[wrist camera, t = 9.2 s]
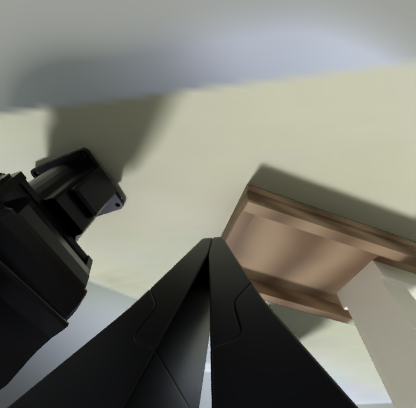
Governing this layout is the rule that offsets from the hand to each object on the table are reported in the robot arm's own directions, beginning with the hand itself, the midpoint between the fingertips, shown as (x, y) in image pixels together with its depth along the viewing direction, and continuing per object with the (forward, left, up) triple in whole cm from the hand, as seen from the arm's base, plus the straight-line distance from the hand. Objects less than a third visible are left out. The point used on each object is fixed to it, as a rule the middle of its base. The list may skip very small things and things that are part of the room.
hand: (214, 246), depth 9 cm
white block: (+13, -22, -11) cm, 28 cm away
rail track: (+8, -18, -12) cm, 23 cm away
